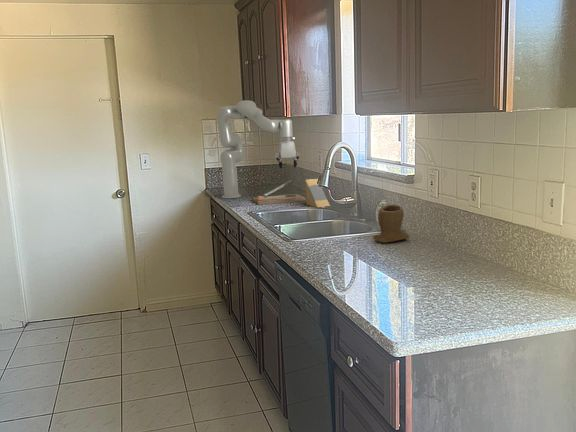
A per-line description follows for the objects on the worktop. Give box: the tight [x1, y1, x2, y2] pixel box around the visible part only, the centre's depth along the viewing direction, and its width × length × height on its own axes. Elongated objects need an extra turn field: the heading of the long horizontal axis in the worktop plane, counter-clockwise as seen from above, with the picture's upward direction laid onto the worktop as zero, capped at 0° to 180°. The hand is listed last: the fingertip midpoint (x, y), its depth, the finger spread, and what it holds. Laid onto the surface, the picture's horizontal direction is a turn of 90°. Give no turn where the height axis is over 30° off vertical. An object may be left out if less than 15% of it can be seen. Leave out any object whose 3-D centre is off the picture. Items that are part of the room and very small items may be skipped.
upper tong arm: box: [262, 179, 294, 197], centre depth 359 cm, size 20×4×2 cm, turn 106°
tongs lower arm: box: [263, 193, 296, 199], centre depth 360 cm, size 23×4×1 cm, turn 106°
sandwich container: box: [305, 178, 331, 208], centre depth 333 cm, size 9×15×15 cm, turn 23°
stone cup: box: [372, 204, 410, 244], centre depth 236 cm, size 15×12×15 cm
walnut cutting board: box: [251, 193, 306, 206], centre depth 360 cm, size 19×30×2 cm, turn 106°
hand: (288, 167), depth 359 cm, fingers open, 8 cm apart
